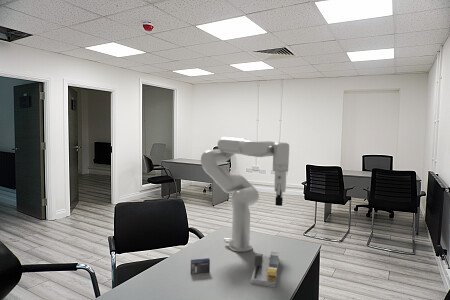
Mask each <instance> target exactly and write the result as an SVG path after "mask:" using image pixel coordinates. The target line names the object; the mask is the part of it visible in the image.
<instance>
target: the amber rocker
mask: <svg viewBox="0 0 450 300" xmlns="http://www.w3.org/2000/svg"><path fill="white" fill-rule="evenodd" d="M276 273H277V274H278V272H277V268H273V267H268V269H267V275H273V276H276Z"/></svg>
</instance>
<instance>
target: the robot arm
mask: <svg viewBox="0 0 450 300" xmlns="http://www.w3.org/2000/svg"><path fill="white" fill-rule="evenodd" d="M217 148H218V149H208V150H205V151H204V152H203V153H202V154H201V156H200V164H201V167H202V169H203V171H204V172H205V174H207V175H208V176H209V177H210V178H211V179H212V180H213V181H214V182H215V183H216V185H218V187H220V189H221V190H222V191H223V192H224V193H226V194H232V195H231V198H230V201H231V209H232V221H231V222H232V223H231V225H232V227H231V229H232V230H231V237H230V238H228V237H224V239H223V241H224V243H225V244H228V248H229V250H231V251H233V252H238V253H247V252H249V251H252V249H253V245H252V244H251V243H250V240H251V211H250V208H249V206H253V205H254V204H256V203H257V202H258V201H259V198H260V194H259V192H258V190H257V189H256V187H255V186H253V184H252V183H250V182H249V181H248V180H247V179H246V178H245V177H244V176H242V175H240V174H233V175H232V174H230V173H229V172H228V171H226V169H225V168H224V167H222V166H221V165H220V164H224V163H226V162H228V161H229V160H230V159H231V158H232V157H234V156H235V155H243V156H248V157H255V158H265V157H267V158H268V157H272V172H274V192H275V193H276V195H275V206H278V207H282V206H283V201H284V199H283V193H285V192H286V190H287V172H289V163H290V162H289V161H290V144H289V143H287V142H275V141H255V140H248V139H246V138H243V137H236V136H223V137H221V138H219V140H218V141H217Z"/></svg>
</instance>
